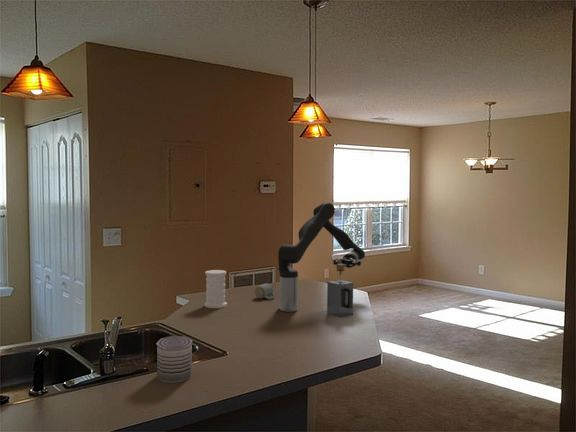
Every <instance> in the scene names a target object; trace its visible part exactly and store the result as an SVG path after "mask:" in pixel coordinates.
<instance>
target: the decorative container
mask: <svg viewBox="0 0 576 432" xmlns="http://www.w3.org/2000/svg"><path fill="white" fill-rule="evenodd" d="M204 273H205V274H204V275H206V278H205V280H206V283H205V284H206V285H205V287H206V290H205V293H206V296H205V299H206V302H204V307H205V308H207V309H220V308H221V309H222V308H225V307H227V306H228V303H227V301H226V286H227V285H226V282H225V281H226V275H227V270H222V269H211V270H206V271H205V272H204Z"/></svg>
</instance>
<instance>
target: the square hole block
mask: <svg viewBox="0 0 576 432" xmlns="http://www.w3.org/2000/svg"><path fill="white" fill-rule="evenodd" d="M326 285H327V290H326V293H327V294H326V295H327V296H326V314H328V315H330V316H334V317H337V318H342V317H343V318H344V317H349V316H353V315H354V314H353V313H354V282H352V281H348V280H343V279H342V283H339V279H337V280H331V281H327V283H326Z"/></svg>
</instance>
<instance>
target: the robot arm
mask: <svg viewBox="0 0 576 432" xmlns="http://www.w3.org/2000/svg"><path fill="white" fill-rule="evenodd" d="M335 211H336V209H335V206H334V204H332V203H331V202H324V203H322V204H319V205H318V206H316V207H314V209H313V211H312V213H313V216H312V217H310V218H309V219H308V220H307V221H306V222H305V223H303V225H302V226H301V227H300V229H299V230H298V240H299V241H298V242H297V243H296V244H295V245H293V244H282V245H280V247H279V249H278V254H277V255H278V256H277V257H278V261H277V262H278V272H279V290H278V303H277V304H278V310H280V312H281V311H282V312H286V313H287V312H296V311H298V309H299V308H298V303H299V301H298V300H299V299H298V296H299V293H298V291H299V290H298V289H299V287H298V286H299V272H298V270H297V269H295V268H294V267H292V265H291V264H297V263H299V262H300V261H301V259H302V258H303V256H304V255H305V253H306V251H307V249H308V248H309V246H311V244H312V242H313V241H314V240H315V239H316V238H317V236H318V235H319V233H320V232H321V231H322V229H323V228H324V229H325V230H326V231H327V232H328V233H329V234H330V235H331V236H332V237H333V238H334V239H335V240H336V242H337V243H338V244H339V246H340V247H341V249H343V250H344V251H348V250H350V252H348V253H346V254H344V255H343V257H342V258H338V257H337V258H334V259H333V261H332V262H333V265H335V266H336V267H337V264H345V268H348V269H351V268H353V267H356V266H359V267H360V266H361V265H362V259H363V260H364V258H366V252H365V251H364V250H363V248H361V247H360V246H358V245H357V244H356V243H355V242H354V241H353V240H352V238H351V237H350V236H349V235H348V233H347V232H345V231H344V230H343V229H341V228H339V227H338V226H336V225H335V224H333V223H332V222H331V221H330V219H332V218H333V217H334V215H335Z"/></svg>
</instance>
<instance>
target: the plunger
mask: <svg viewBox="0 0 576 432" xmlns="http://www.w3.org/2000/svg"><path fill="white" fill-rule="evenodd" d="M345 269H346V267H345V264H337V266H336V270H335V271H337V272H338V276H339V277H338V280H339V283H342V280H343V279H342V278H343V276H342V275H343V273H342V272H345Z"/></svg>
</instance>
